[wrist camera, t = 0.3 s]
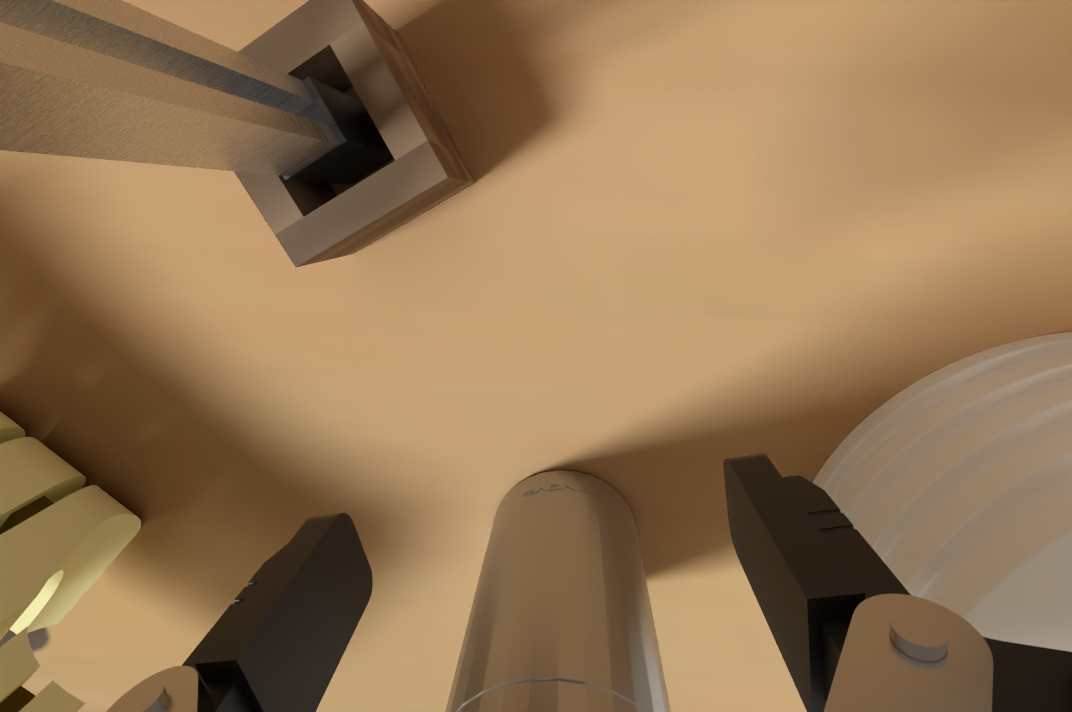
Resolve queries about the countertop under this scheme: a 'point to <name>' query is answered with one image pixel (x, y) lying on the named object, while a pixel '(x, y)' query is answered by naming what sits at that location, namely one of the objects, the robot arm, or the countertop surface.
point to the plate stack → (973, 489)
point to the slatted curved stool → (47, 555)
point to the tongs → (168, 98)
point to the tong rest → (397, 111)
